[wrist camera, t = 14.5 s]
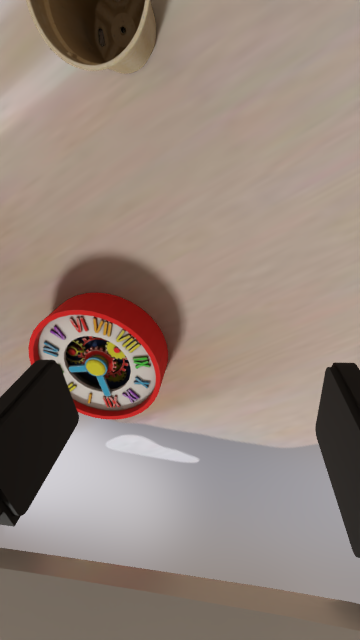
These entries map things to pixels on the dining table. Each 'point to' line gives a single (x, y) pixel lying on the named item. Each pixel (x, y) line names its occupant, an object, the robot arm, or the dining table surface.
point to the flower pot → (97, 32)
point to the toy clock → (104, 353)
